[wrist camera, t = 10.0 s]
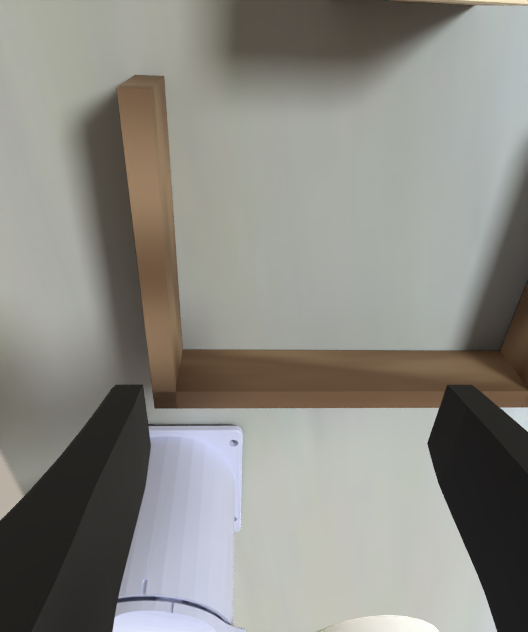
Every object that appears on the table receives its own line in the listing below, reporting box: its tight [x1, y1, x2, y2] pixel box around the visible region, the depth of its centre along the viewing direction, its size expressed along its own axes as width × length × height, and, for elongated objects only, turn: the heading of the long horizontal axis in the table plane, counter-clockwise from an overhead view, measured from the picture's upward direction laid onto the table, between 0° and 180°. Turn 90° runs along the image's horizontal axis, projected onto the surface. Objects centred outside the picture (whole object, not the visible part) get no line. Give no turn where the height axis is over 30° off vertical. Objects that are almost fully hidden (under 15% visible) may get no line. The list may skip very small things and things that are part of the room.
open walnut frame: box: [117, 75, 528, 408], centre depth 19 cm, size 13×18×3 cm
